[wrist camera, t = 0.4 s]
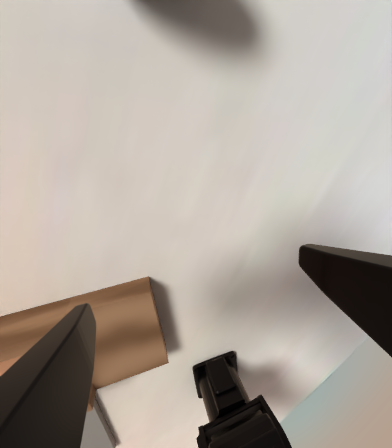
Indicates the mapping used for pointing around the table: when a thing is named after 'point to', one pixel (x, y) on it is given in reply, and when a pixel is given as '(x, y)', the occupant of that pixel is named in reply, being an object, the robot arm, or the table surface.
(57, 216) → the table surface
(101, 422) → the mat
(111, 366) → the divided wooden tray
